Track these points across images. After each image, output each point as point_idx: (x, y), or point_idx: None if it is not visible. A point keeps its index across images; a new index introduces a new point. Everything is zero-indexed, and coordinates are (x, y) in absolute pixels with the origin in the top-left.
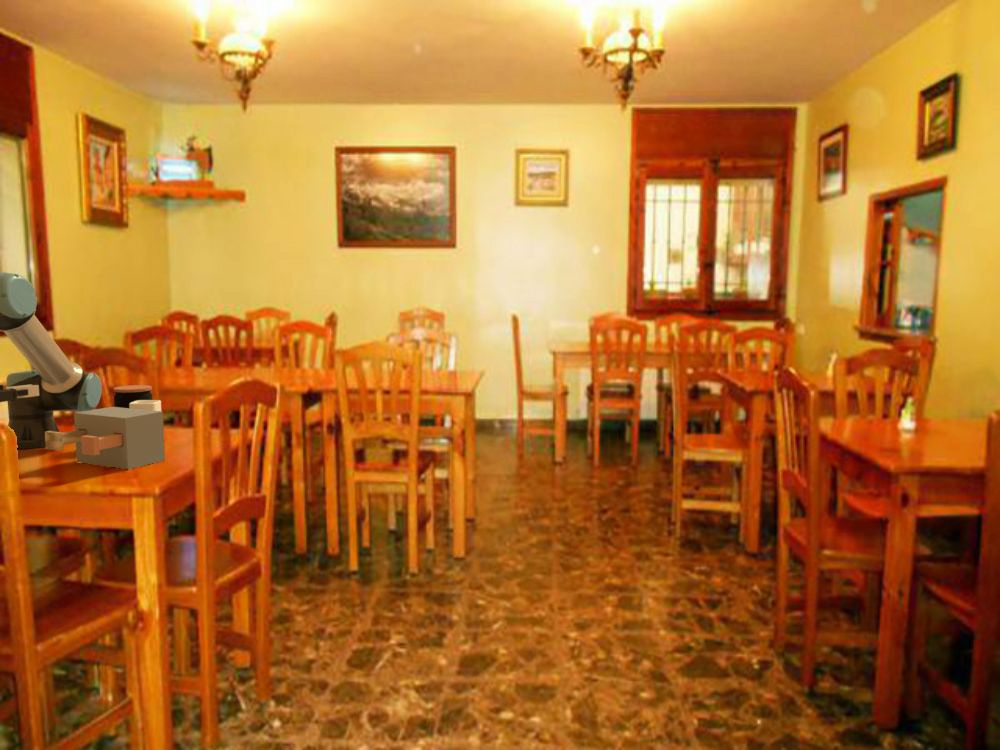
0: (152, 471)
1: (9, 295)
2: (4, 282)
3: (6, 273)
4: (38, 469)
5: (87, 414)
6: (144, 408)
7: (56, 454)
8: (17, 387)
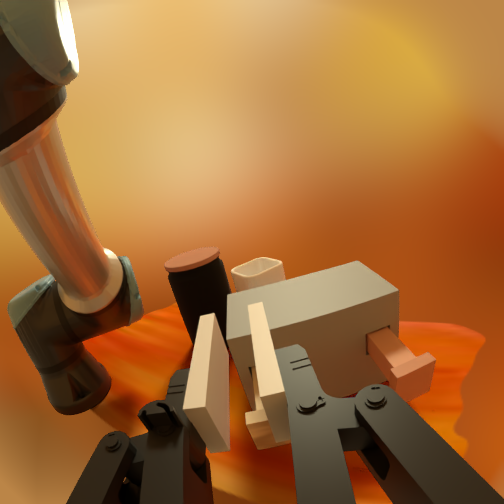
0: None
1: None
2: None
3: None
4: (244, 480)
5: (277, 328)
6: (276, 275)
7: None
8: (267, 367)
